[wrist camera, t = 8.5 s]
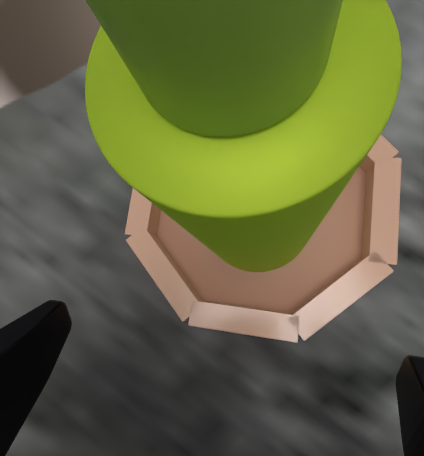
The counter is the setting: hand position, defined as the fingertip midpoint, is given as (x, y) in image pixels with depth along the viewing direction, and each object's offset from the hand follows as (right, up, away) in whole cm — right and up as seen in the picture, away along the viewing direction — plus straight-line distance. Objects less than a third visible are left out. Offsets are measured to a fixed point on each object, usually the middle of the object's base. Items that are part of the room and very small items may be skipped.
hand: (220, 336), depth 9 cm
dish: (+2, +4, +10) cm, 11 cm away
